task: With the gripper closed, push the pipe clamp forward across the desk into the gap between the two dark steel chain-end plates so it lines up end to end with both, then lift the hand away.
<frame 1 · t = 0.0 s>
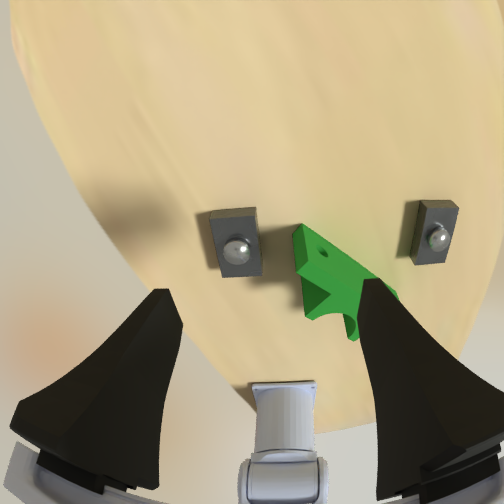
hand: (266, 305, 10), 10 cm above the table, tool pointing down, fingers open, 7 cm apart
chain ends: (342, 233, 20), on the table
pipe clamp: (339, 272, 23), on the table
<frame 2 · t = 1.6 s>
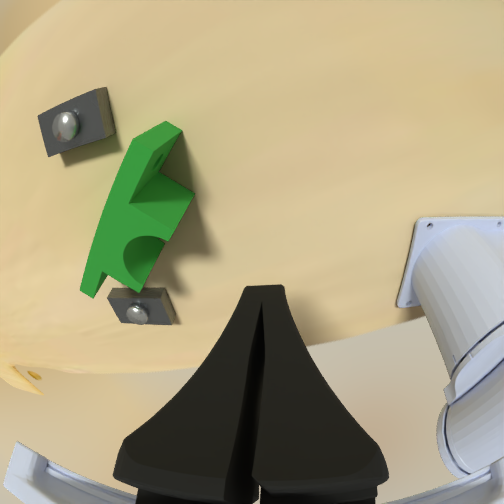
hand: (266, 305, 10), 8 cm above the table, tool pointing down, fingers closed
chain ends: (110, 222, 18), on the table
pipe clamp: (151, 207, 18), on the table
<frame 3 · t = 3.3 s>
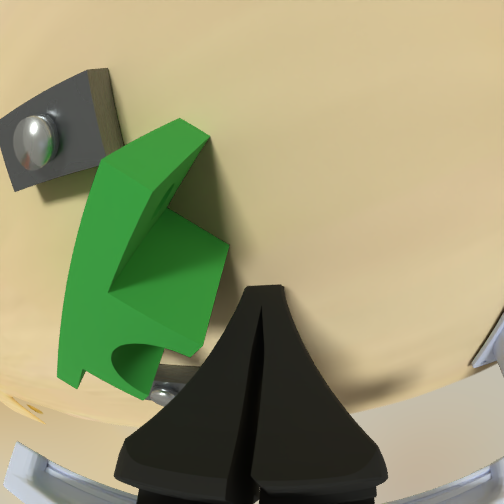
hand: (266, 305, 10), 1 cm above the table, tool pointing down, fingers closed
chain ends: (121, 290, 12), on the table
pipe clamp: (155, 261, 11), on the table, touching gripper
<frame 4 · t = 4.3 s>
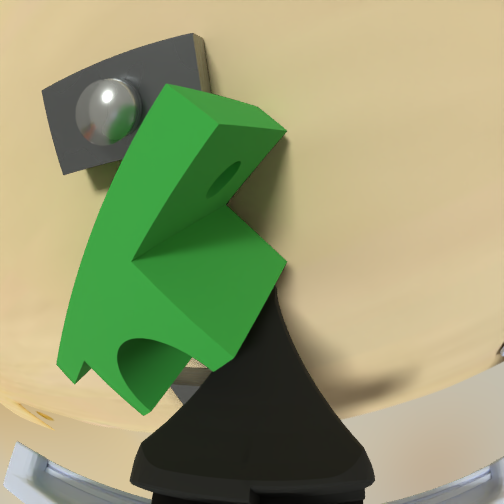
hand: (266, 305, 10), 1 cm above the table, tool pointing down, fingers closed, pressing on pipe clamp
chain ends: (184, 290, 12), on the table
pipe clamp: (199, 267, 10), on the table, touching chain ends, gripper
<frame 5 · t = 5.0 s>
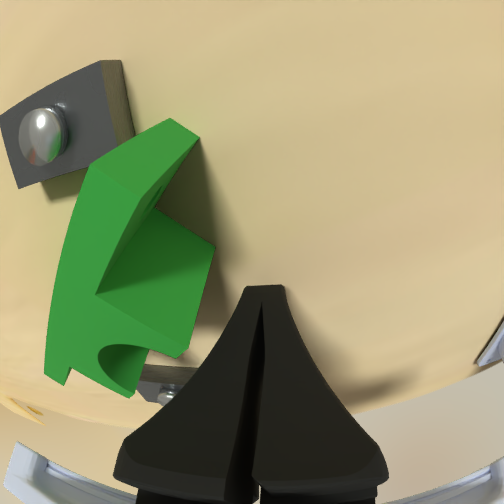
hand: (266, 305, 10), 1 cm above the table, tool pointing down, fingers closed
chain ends: (129, 291, 12), on the table
pipe clamp: (142, 259, 11), on the table
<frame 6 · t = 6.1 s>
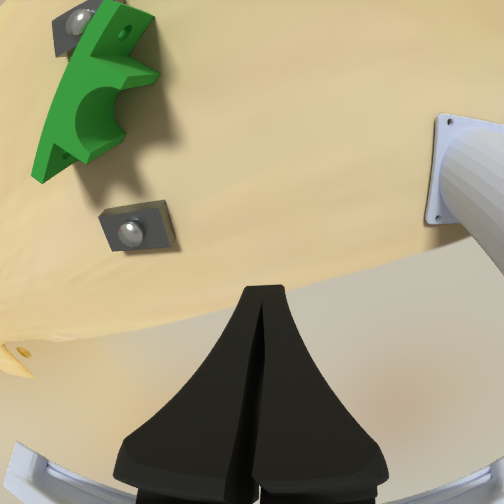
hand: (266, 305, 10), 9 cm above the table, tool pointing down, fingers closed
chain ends: (110, 123, 15), on the table
pipe clamp: (117, 95, 15), on the table
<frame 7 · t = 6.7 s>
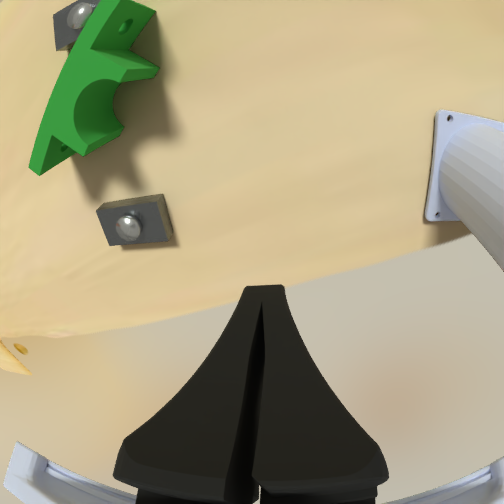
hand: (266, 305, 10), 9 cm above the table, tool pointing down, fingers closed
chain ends: (109, 117, 15), on the table
pipe clamp: (116, 89, 14), on the table
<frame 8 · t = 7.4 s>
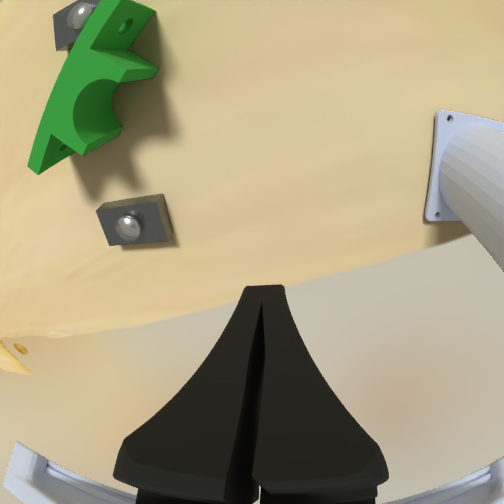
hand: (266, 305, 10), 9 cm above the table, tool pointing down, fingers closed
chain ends: (109, 117, 15), on the table
pipe clamp: (116, 89, 14), on the table
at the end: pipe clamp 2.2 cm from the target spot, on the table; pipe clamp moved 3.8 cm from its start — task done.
